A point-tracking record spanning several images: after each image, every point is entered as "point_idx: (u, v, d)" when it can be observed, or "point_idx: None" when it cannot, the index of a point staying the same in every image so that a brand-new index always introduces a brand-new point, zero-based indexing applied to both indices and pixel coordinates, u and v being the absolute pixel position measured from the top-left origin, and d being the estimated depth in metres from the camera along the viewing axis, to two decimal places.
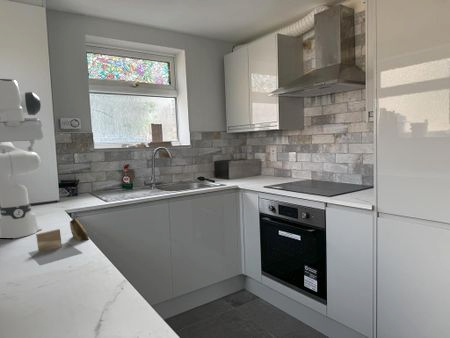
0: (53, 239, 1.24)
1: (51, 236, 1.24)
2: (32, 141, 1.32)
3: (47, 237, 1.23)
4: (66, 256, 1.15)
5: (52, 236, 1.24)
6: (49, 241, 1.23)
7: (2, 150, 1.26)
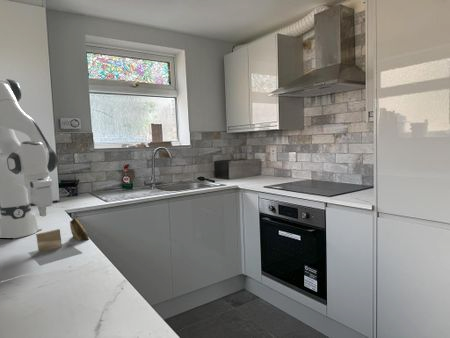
0: (53, 239, 1.24)
1: (51, 236, 1.24)
2: None
3: (47, 237, 1.23)
4: (66, 256, 1.15)
5: (52, 236, 1.24)
6: (49, 241, 1.23)
7: None
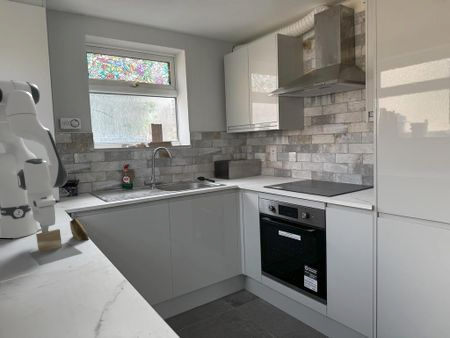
0: (53, 239, 1.24)
1: (51, 236, 1.24)
2: None
3: (47, 237, 1.23)
4: (66, 256, 1.15)
5: (52, 236, 1.24)
6: (49, 241, 1.23)
7: None
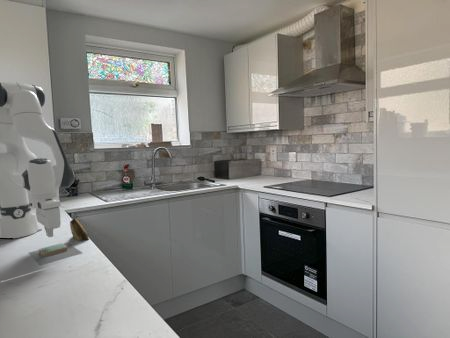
0: None
1: None
2: None
3: None
4: (66, 256, 1.15)
5: None
6: None
7: None
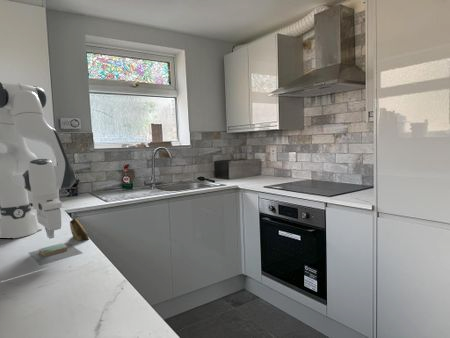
0: None
1: None
2: None
3: None
4: (66, 256, 1.15)
5: None
6: None
7: None
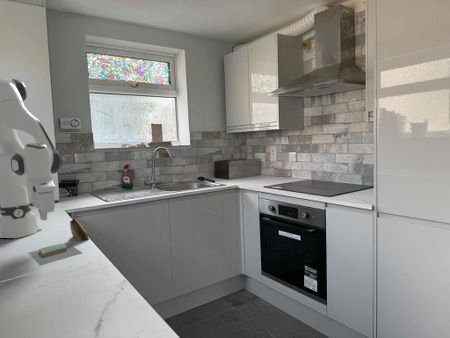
0: None
1: None
2: None
3: None
4: (66, 256, 1.15)
5: None
6: None
7: None
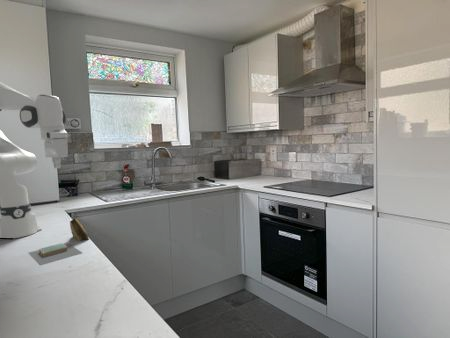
0: None
1: None
2: None
3: None
4: (66, 256, 1.15)
5: None
6: None
7: None
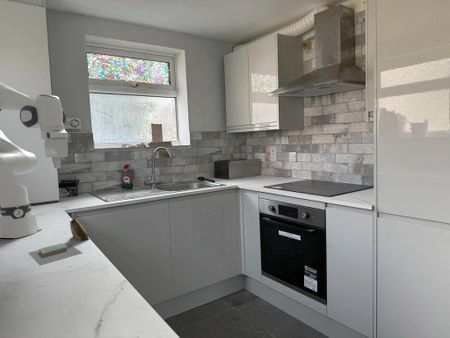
0: None
1: None
2: None
3: None
4: (66, 256, 1.15)
5: None
6: None
7: None
